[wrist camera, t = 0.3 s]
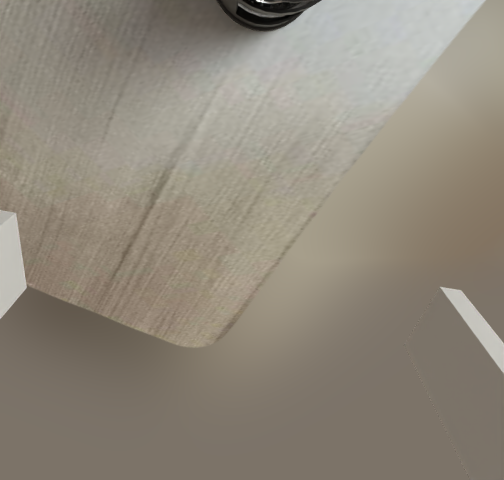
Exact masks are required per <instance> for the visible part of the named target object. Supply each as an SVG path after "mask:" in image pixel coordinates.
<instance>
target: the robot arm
mask: <svg viewBox="0 0 504 480" xmlns="http://www.w3.org/2000/svg"><path fill="white" fill-rule="evenodd" d="M26 288H27V287H26V280H25V273H24V266H23V259H22V252H21V245H20V238H19V231H18V224H17V217H16V213H14V212H8V211H2V210H0V319H1V317H2V316H3V315H4V314H5V312H7V310H8V309H9V308H10V307H11V306H12V304H13V303H14V302H15V301H16V300H17V299H18V297H19V296H20V295H21V294H22V293H23V291H24V290H25V289H26ZM404 346H405V348H406V350H407V352H408V354H409V356H410V358H411V360H412V362H413V364H414V367H415V369H416V371H417V373H418V375H419V377H420V379H421V381H422V383H423V385H424V387H425V389H426V391H427V393H428V395H429V397H430V399H431V401H432V403H433V405H434V408H435V410H436V412H437V414H438V416H439V418H440V420H441V422H442V424H443V426H444V428H445V430H446V432H447V434H448V436H449V438H450V440H451V442H452V444H453V446H454V449H455V451H456V453H457V455H458V457H459V459H460V461H461V463H462V465H463V467H464V469H465V471H466V473H467V475H468V477H469V479H470V480H504V343H503V342H502V341H501V339H499V337H498V336H497V334H496V333H495V332H494V331H493V330H492V328H491V327H490V326H489V324H488V323H487V322H486V321H485V320H484V318H483V317H482V316H481V315H480V313H479V312H478V311H477V310H476V308H475V307H474V306H473V305H472V303H471V302H470V301H469V300H468V298H467V297H466V296H465V295H464V293H463V292H462V291H461V290H455V289H450V288H444V287H439V289H438V291H437V292H436V294H435V295H434V297H433V299H432V300H431V302H430V304H429V305H428V307H427V308H426V310H425V312H424V313H423V315H422V317H421V318H420V320H419V321H418V323H417V325H416V326H415V328H414V330H413V331H412V333H411V335H410V336H409V338H408V339H407V341H406V342H405V344H404Z"/></svg>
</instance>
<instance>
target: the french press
mask: <svg viewBox="0 0 504 480" xmlns="http://www.w3.org/2000/svg"><path fill="white" fill-rule="evenodd" d="M217 1H218V3H219V4H220V6H221V7H222V9H223V10H224V11H225V13H226V14H227V15H229V16H230V17H231V18H232V19H233V20H234V21H235V22H237V23H239V24H240V25H242V26H244V27H247V28H249V29H252V30H258V31H269V30H276V29H278V28H281V27H284V26H286V25H288V24H289V23H291V22H292V21H294V20H295V19H296V18H297V17H299V16H300V15H301V14H302V13H303V12H304V11H305V10H307V9H308V8H310V7H311V6H313V5H315V4H316V3H318V2H319V1H321V0H217Z"/></svg>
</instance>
